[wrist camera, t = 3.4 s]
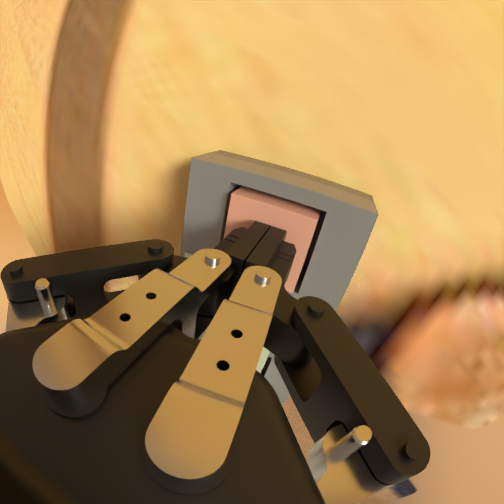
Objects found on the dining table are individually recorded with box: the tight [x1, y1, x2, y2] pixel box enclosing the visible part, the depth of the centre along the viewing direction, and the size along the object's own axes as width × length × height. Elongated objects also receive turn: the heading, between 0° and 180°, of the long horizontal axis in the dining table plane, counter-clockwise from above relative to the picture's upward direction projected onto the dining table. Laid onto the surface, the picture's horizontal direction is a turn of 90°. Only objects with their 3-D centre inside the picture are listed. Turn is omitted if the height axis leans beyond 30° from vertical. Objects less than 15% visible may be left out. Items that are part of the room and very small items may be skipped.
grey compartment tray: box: [181, 150, 378, 405], centre depth 17 cm, size 16×9×3 cm, turn 169°
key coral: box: [224, 186, 321, 293], centre depth 14 cm, size 4×4×2 cm
